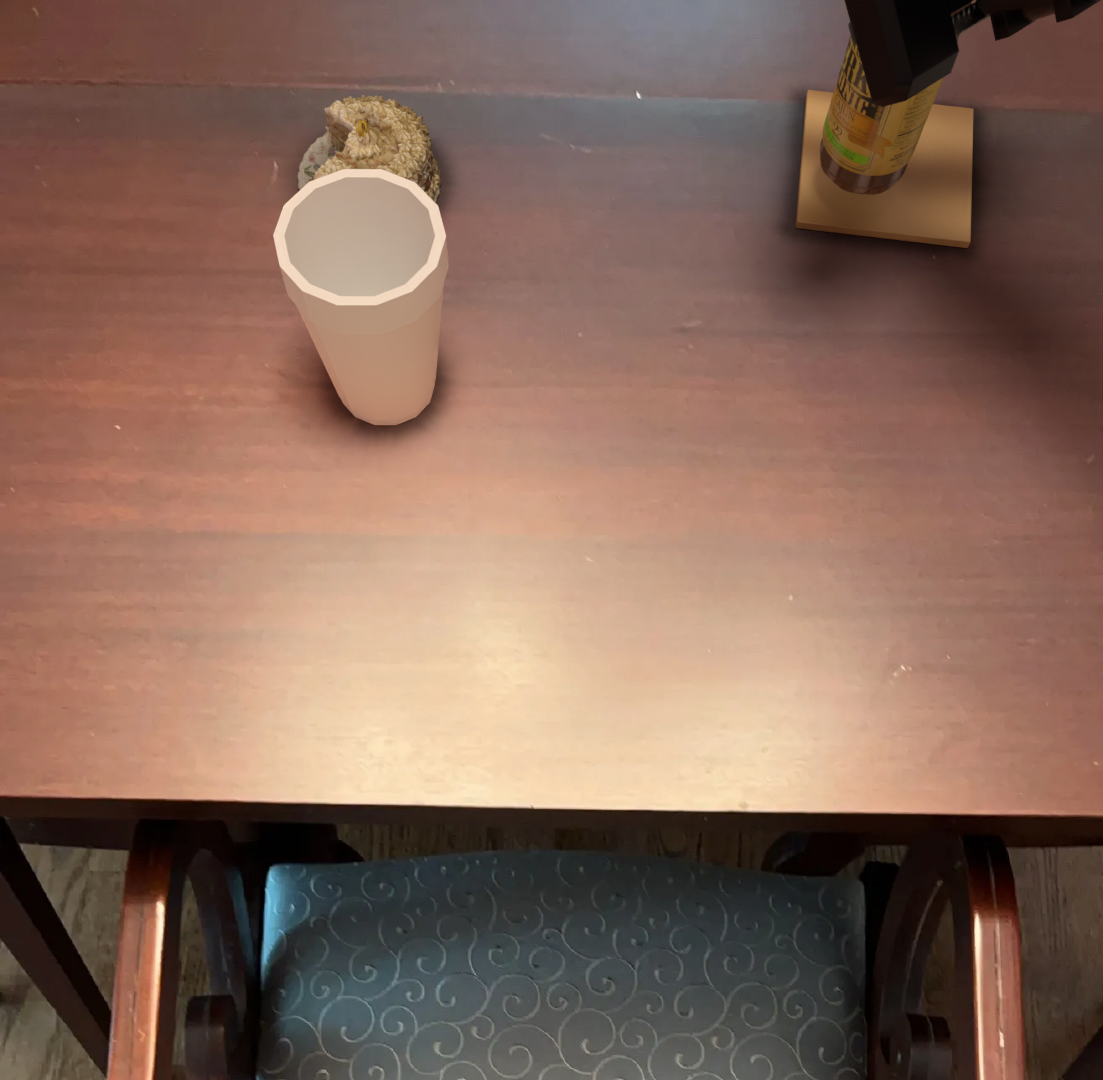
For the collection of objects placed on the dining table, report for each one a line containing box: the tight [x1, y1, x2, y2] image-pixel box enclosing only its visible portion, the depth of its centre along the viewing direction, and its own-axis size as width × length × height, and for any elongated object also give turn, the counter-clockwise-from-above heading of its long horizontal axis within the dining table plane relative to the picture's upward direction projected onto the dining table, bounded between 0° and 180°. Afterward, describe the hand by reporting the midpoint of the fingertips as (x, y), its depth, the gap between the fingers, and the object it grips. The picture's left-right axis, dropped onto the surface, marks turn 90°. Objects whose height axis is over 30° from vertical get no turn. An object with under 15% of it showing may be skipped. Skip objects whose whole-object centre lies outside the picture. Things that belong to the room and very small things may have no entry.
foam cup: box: [272, 169, 450, 426], centre depth 71 cm, size 10×9×13 cm
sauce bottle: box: [820, 2, 972, 195], centre depth 70 cm, size 6×6×20 cm
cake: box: [297, 94, 442, 204], centre depth 79 cm, size 10×10×5 cm
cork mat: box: [795, 89, 974, 249], centre depth 83 cm, size 12×12×1 cm
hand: (892, 7), depth 70 cm, fingers closed on sauce bottle, 6 cm apart
